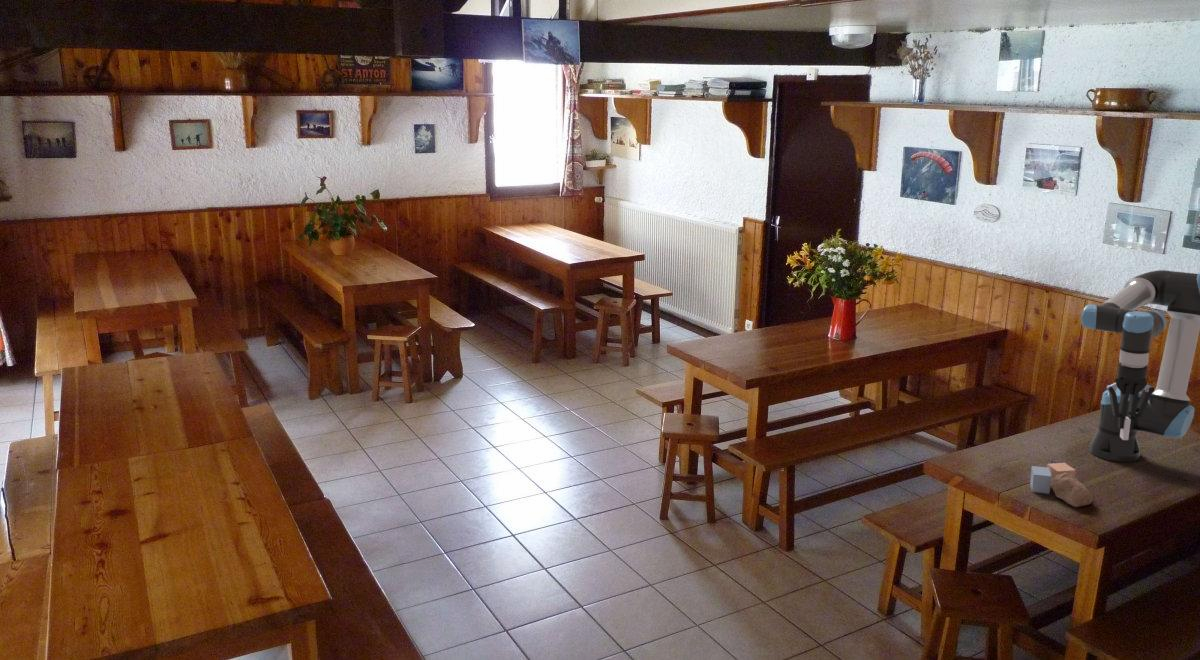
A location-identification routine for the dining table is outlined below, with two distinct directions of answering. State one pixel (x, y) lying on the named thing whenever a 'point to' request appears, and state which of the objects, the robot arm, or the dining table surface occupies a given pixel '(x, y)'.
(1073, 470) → the terracotta block
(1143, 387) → the robot arm
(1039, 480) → the slate block
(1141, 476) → the dining table surface
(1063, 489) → the stone
